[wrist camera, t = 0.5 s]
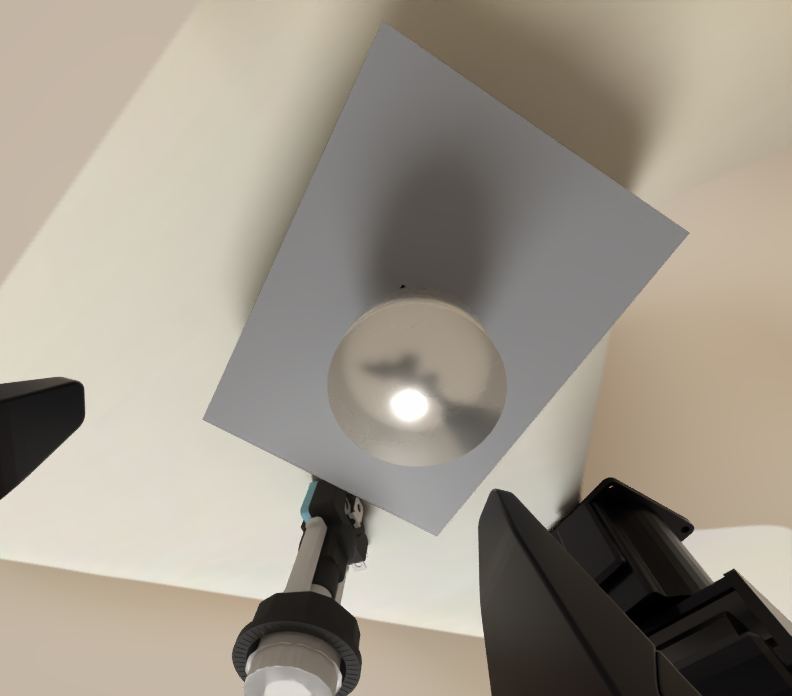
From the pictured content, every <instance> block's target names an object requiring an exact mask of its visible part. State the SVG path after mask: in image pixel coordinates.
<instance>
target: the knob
mask: <svg viewBox="0 0 792 696" xmlns="http://www.w3.org/2000/svg"><path fill="white" fill-rule="evenodd" d="M327 391H328V398H329V403H330V406H331V410H332V412H333V415H334V417H335V419H336V421H337V423H338V424H339V426H340V427H341V429H342V430H343V432H344V433H345V434H346V435H347V437H348V438H349V439H350V440H352V441H353V442H354V443H355V444H356V445H357V446H358V447H360V448H361V449H362V450H364V451H365V452H367V453H369V454H370V455H372V456H374V457H376V458H378V459H381V460H383V461H386V462H389V463H392V464H397V465H402V466H412V467H425V466H433V465H438V464H442V463H446V462H449V461H452V460H455V459H457V458H459V457H461V456H463V455H465V454H467V453H468V452H470V451H471V450H473V449H474V448H476V447H477V446H478V445H479V444H480V443H482V442H483V441H484V440H485V438H486V437H487V436H488V435H489V434H490V433H491V431H492V430H493V429H494V427H495V426H496V424H497V422H498V420H499V418H500V416H501V414H502V411H503V408H504V405H505V400H506V395H507V379H506V372H505V368H504V364H503V361H502V359H501V356H500V354H499V352H498V350H497V348H496V347H495V345H494V343H493V342H492V340H491V338H490V337H489V335H488V333H487V332H486V330H485V328H484V327H483V325H482V323H481V322H480V320H479V318H478V317H477V316H476V315H475V313H474V312H473V311H472V310H471V309H470V308H469V307H468V306H467V305H466V304H465V303H463V302H462V301H461V300H459V299H458V298H456V297H454V296H452V295H450V294H448V293H446V292H443V291H440V290H437V289H432V288H428V287H406V288H401V289H396V290H393V291H390V292H387V293H385V294H383V295H381V296H379V297H377V298H376V299H374V300H373V301H371V302H370V303H369V304H368V305H367V306H365V307H364V308H363V309H362V310H361V312H360V313H359V314H358V315H357V316H356V318H355V319H354V321H353V322H352V324H351V326H350V327H349V329H348V331H347V332H346V334H345V336H344V337H343V339H342V341H341V342H340V344H339V346H338V347H337V349H336V351H335V354H334V356H333V358H332V361H331V364H330V367H329V372H328V379H327Z"/></svg>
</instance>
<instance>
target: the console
mask: <svg viewBox="0 0 792 696" xmlns="http://www.w3.org/2000/svg"><path fill="white" fill-rule="evenodd" d="M688 234H689V232H688V231H686V230H685V229H683V228H682V227H680V226H679V225H677V224H676V223H675V222H673V221H672V220H670V219H669V218H667V217H666V216H664V215H663V214H662V213H660V212H659V211H657V210H656V209H654V208H653V207H651V206H650V205H649V204H647V203H646V202H644V201H643V200H641V199H640V198H638V197H637V196H636V195H634V194H633V193H631V192H630V191H628V190H627V189H625V188H624V187H623V186H621V185H620V184H618V183H617V182H615V181H614V180H612V179H611V178H610V177H608V176H607V175H605V174H604V173H602V172H601V171H599V170H598V169H597V168H595V167H594V166H592V165H591V164H589V163H588V162H586V161H585V160H584V159H582V158H581V157H579V156H578V155H576V154H575V153H573V152H572V151H571V150H569V149H568V148H566V147H565V146H563V145H562V144H560V143H559V142H558V141H556V140H555V139H553V138H552V137H550V136H549V135H547V134H546V133H545V132H543V131H542V130H540V129H539V128H537V127H536V126H534V125H533V124H532V123H530V122H529V121H527V120H526V119H524V118H523V117H521V116H520V115H518V114H517V113H516V112H514V111H513V110H511V109H510V108H508V107H507V106H505V105H504V104H503V103H501V102H500V101H498V100H497V99H495V98H494V97H492V96H491V95H490V94H488V93H487V92H485V91H484V90H482V89H481V88H479V87H478V86H477V85H475V84H474V83H472V82H471V81H469V80H468V79H466V78H465V77H464V76H462V75H461V74H459V73H458V72H456V71H455V70H453V69H452V68H451V67H449V66H448V65H446V64H445V63H443V62H442V61H440V60H439V59H438V58H436V57H435V56H433V55H432V54H430V53H429V52H427V51H426V50H425V49H423V48H422V47H420V46H419V45H417V44H416V43H414V42H413V41H412V40H410V39H409V38H407V37H406V36H404V35H403V34H401V33H400V32H399V31H397V30H396V29H394V28H393V27H391V26H390V25H388V24H387V23H386V22H384V21H383V22H382V24H381V26H380V28H379V31H378V33H377V35H376V37H375V39H374V42H373V44H372V46H371V48H370V50H369V53H368V55H367V57H366V59H365V62H364V64H363V66H362V68H361V70H360V73H359V75H358V77H357V79H356V81H355V84H354V86H353V88H352V90H351V92H350V95H349V97H348V99H347V101H346V104H345V106H344V108H343V110H342V112H341V115H340V117H339V119H338V121H337V123H336V126H335V128H334V130H333V132H332V134H331V137H330V139H329V141H328V143H327V146H326V148H325V150H324V152H323V154H322V157H321V159H320V161H319V163H318V165H317V168H316V170H315V172H314V174H313V176H312V179H311V181H310V183H309V185H308V188H307V190H306V192H305V194H304V196H303V199H302V201H301V203H300V205H299V207H298V210H297V212H296V214H295V216H294V218H293V221H292V223H291V225H290V227H289V230H288V232H287V234H286V236H285V238H284V241H283V243H282V245H281V247H280V249H279V252H278V254H277V256H276V258H275V260H274V263H273V265H272V267H271V269H270V272H269V274H268V276H267V278H266V280H265V283H264V285H263V287H262V289H261V291H260V294H259V296H258V298H257V300H256V302H255V305H254V307H253V309H252V311H251V314H250V316H249V318H248V320H247V322H246V325H245V327H244V329H243V331H242V333H241V336H240V338H239V340H238V342H237V344H236V347H235V349H234V351H233V353H232V356H231V358H230V360H229V362H228V364H227V367H226V369H225V371H224V373H223V375H222V378H221V380H220V382H219V384H218V386H217V389H216V391H215V393H214V395H213V397H212V400H211V402H210V404H209V406H208V409H207V411H206V413H205V415H204V417H203V420H204V421H206V422H208V423H210V424H212V425H214V426H216V427H218V428H220V429H223V430H225V431H227V432H229V433H231V434H233V435H235V436H237V437H239V438H241V439H243V440H245V441H247V442H249V443H251V444H253V445H255V446H257V447H259V448H261V449H263V450H265V451H267V452H269V453H271V454H273V455H275V456H277V457H279V458H281V459H283V460H285V461H287V462H289V463H291V464H293V465H295V466H297V467H299V468H301V469H303V470H305V471H307V472H309V473H311V474H313V475H315V476H317V477H319V478H321V479H323V480H325V481H327V482H329V483H331V484H333V485H335V486H337V487H339V488H341V489H343V490H345V491H347V492H349V493H351V494H353V495H355V496H357V497H359V498H361V499H363V500H365V501H367V502H369V503H371V504H373V505H375V506H377V507H379V508H381V509H383V510H385V511H387V512H389V513H391V514H393V515H395V516H397V517H399V518H401V519H403V520H405V521H407V522H409V523H411V524H413V525H415V526H417V527H419V528H421V529H423V530H425V531H427V532H429V533H431V534H433V535H435V536H438V534H439V533H440V532H441V531H442V530H443V528H444V527H445V526H446V525H447V524H448V522H449V521H450V520H451V519H452V518H453V516H454V515H455V514H456V513H457V511H458V510H459V509H460V508H461V507H462V505H463V504H464V503H465V502H466V501H467V499H468V498H469V497H470V496H471V495H472V493H473V492H474V491H475V490H476V489H477V487H478V486H479V485H480V484H481V483H482V481H483V480H484V479H485V478H486V477H487V475H488V474H489V473H490V472H491V471H492V469H493V468H494V467H495V466H496V465H497V463H498V462H499V461H500V460H501V459H502V457H503V456H504V455H505V454H506V453H507V451H508V450H509V449H510V448H511V447H512V445H513V444H514V443H515V442H516V441H517V439H518V438H519V437H520V436H521V435H522V433H523V432H524V431H525V430H526V429H527V427H528V426H529V425H530V424H531V423H532V421H533V420H534V419H535V418H536V417H537V415H538V414H539V413H540V412H541V411H542V409H543V408H544V407H545V406H546V405H547V403H548V402H549V401H550V400H551V399H552V397H553V396H554V395H555V394H556V393H557V391H558V390H559V389H560V388H561V387H562V385H563V384H564V383H565V382H566V381H567V379H568V378H569V377H570V376H571V375H572V373H573V372H574V371H575V370H576V369H577V367H578V366H579V365H580V364H581V363H582V361H583V360H584V359H585V358H586V357H587V355H588V354H589V353H590V352H591V351H592V349H593V348H594V347H595V346H596V345H597V343H598V342H599V341H600V340H601V339H602V337H603V336H604V335H605V334H606V333H607V331H608V330H609V329H610V328H611V327H612V325H613V324H614V323H615V322H616V321H617V319H618V318H619V317H620V316H621V315H622V313H623V312H624V311H625V310H626V308H627V307H628V306H629V305H630V304H631V303H632V301H633V300H634V299H635V298H636V296H637V295H638V294H639V293H640V292H641V291H642V289H643V288H644V287H645V286H646V285H647V283H648V282H649V281H650V280H651V278H652V277H653V276H654V275H655V274H656V273H657V271H658V270H659V269H660V268H661V267H662V265H663V264H664V263H665V262H666V261H667V259H668V258H669V257H670V256H671V254H672V253H673V252H674V251H675V250H676V249H677V247H678V246H679V245H680V244H681V243H682V241H683V240H684V239H685V238H686V237H687V235H688ZM402 285H404V286H405V287H428V288H432V289H437V290H440V291H443V292H446V293H448V294H450V295H452V296H454V297H456V298H458V299H459V300H461V301H462V302H463V303H465V304H466V305H467V306H468V307H469V308H470V309H471V310H472V311H473V312H474V313H475V315H476V316H477V317H478V318H479V320H480V322H481V323H482V325H483V327H484V328H485V330H486V332H487V333H488V335H489V337H490V338H491V340H492V342H493V343H494V345H495V347H496V348H497V350H498V352H499V354H500V356H501V359H502V361H503V364H504V368H505V372H506V379H507V395H506V400H505V405H504V408H503V411H502V414H501V416H500V418H499V420H498V422H497V424H496V426H495V427H494V429H493V430H492V431H491V433H490V434H489V435H488V436H487V437H486V438H485V440H484V441H483V442H482V443H480V444H479V445H478V446H477V447H476V448H474V449H473V450H471V451H470V452H468V453H467V454H465V455H463V456H461V457H459V458H457V459H455V460H452V461H449V462H446V463H442V464H438V465H433V466H425V467H412V466H402V465H397V464H392V463H389V462H386V461H383V460H381V459H378V458H376V457H374V456H372V455H370V454H369V453H367V452H365V451H364V450H362V449H361V448H360V447H358V446H357V445H356V444H355V443H354V442H353V441H352V440H350V439H349V438H348V437H347V435H346V434H345V433H344V432H343V430H342V429H341V427H340V426H339V424H338V423H337V421H336V419H335V417H334V415H333V412H332V410H331V406H330V403H329V398H328V391H327V379H328V372H329V367H330V364H331V361H332V358H333V356H334V354H335V351H336V349H337V347H338V346H339V344H340V342H341V341H342V339H343V337H344V336H345V334H346V332H347V331H348V329H349V327H350V326H351V324H352V322H353V321H354V319H355V318H356V316H357V315H358V314H359V313H360V312H361V310H362V309H363V308H364V307H365V306H367V305H368V304H369V303H370V302H371V301H373V300H374V299H376V298H377V297H379V296H381V295H383V294H385V293H387V292H390V291H393V290H396V289H400V288H401V286H402Z"/></svg>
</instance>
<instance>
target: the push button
mask: <svg viewBox="0 0 792 696" xmlns="http://www.w3.org/2000/svg"><path fill="white" fill-rule="evenodd" d="M358 505H359V508H360V512H359V511H358V507H357V506H358ZM362 515H363V506H362V504H361V502H360V500H359V498H358V497H356V498H355V502H354V507H353V505H352V503H351V501H350V499H349V497H348V495H347V491H345V490H343V489H341V488H339V487H337V486H335V485H333V484H331V483H329V482H327V481H325V480H323V479H322V480H319V481H315V482H312V483H310V485H309V489H308V492H307V494H306V497H305V499H304V502H303V504H302V507H301V516H302V518H303V523H302V525H301V529H302V530H303V532H304V533H303V536H302V538H301V541H300V545H299V549H298V554H297V557H296V560H295V563H294V566H293V569H292V572H291V574H290V577H289V580H288V583H287V586H286V588H285V590H284V592H283V593H276V594H274V595H272V596H271V597H269V598H267V599H265V600H264V601H262V602H261V603H260V604H259V607H258V609H257V612H256V614H255V616H254V619H253V621H252V622H250V623H249V624H248V625H246V626H245V627H244V628H243V629H242V631H241V632H240V634H239V636H238V638H237V640H236V643H235V645H234V648H233V652H232V660H233V664H234V667H235V669H236V671H237V673H238V675H239V676H240V677H241V679H242V680H243V681H244V682H245V683H244V686H243V692H244V695H245V696H347V695H348V694H349V693H351V692H352V691H353V689H354V688H355V687H356V686H357V684H358V681H359V679H360V673H361V665H362V659H361V654H360V651H359V649H358V648H359V640H360V631H359V628H358V624H357V620H356V619H355V617H353V616H352V615H351V614H350V613H349V612H348V611H347V610H346V609H344V608H343V607H342V606H341V605H340V604H341V599H342V593H343V588H344V583H345V578H346V575H347V574H348V570H349V566H348V565H352V566H353V568H354V570H355V571H361V570H365V569H366V565H365V563H364V562H363V561H365V559H366V557H368V553H367V546H368V540H367V537H366V535H365V533H364V526H363V524H362V522H361V520H362ZM355 563H361V566H356V565H355Z"/></svg>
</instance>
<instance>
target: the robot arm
mask: <svg viewBox="0 0 792 696" xmlns="http://www.w3.org/2000/svg"><path fill="white" fill-rule="evenodd" d="M84 418H85V395H84V386H83V385H82V383H81V382H79V381H76V380H72V379H68V378H64V377H52V378H44V379H36V380H28V381H20V382H12V383H4V384H0V500H1V499H2V498H3V497H5V496H6V495H7V494H8V493H9V492H11V491H12V490H13V489H14V488H15V487H17V486H18V485H19V484H20V483H21V482H22V481H23V480H24V479H25V478H26V477H28V476H29V475H30V474H31V473H32V472H33V471H34V470H35V469H36V468H37V467H38V466H39V465H40V464H41V463H42V462H43V461H44V460H45V459H46V458H48V457H49V456H50V455H51V454H52V453H53V452H54V451H55V450H56V449H57V448H58V447H59V446H60V445H61V444H62V443H63V442H64V441H65V440H66V439H67V438H68V437H70V436H71V435H72V434H73V433H74V432H75V431H76V430H77V429H78V428H79V427H80V426H81V424H82V423H83V421H84ZM610 486H613V487H611V488H609V487H610ZM693 531H694V526H693V525H692V524H691V523H690V522H689V520H688V519H686V518H684V517H683V516H681V515H679V514H677V513H675V512H674V511H672V510H670V509H668V508H667V507H665V506H663V505H661V504H659V503H658V502H656V501H654V500H652V499H651V498H649V497H647V496H645V495H643V494H642V493H640V492H638V491H636V490H635V489H633V488H631V487H629V486H627V485H626V484H624V483H622V482H620V481H619V480H617V479H615V478H606V479H604V480H603V481H602V482H601V483H600V484H599V485H598V486H597V487H596V488H595V489H594V490H593V491H592V492H591V493H590V494H589V495H588V496H587V497H586V498H585V499H584V500H583V501H582V502H581V503H580V504H579V505H578V506H577V507H576V508H575V509H574V510H573V511H572V512H571V513H570V514H569V515H568V516H567V517H566V518H565V520H564V521H563V522H562V523H561V524H560V525H559V526H558V527H557V528H556V529H555V530H554V531H553V532H552V533H551V534H550V533H549V532H548V531H547V529H546V528H545V527H544V526H543V525H542V524H541V523H540V522H539V521H538V520H537V519H536V518H535V517H534V515H533V514H532V513H531V512H530V511H529V510H528V509H527V508H526V507H525V506H524V505H523V504H522V503H521V502H520V500H519V499H518V498H517V497H516V496H515V495H514V494H513V493H511V492H508V491H504V490H500V489H493V490H492V491H491V492H490V494H489V497H488V499H487V502H486V504H485V506H484V509H483V511H482V514H481V516H480V519H479V525H478V541H479V585H480V605H481V615H482V623H483V631H484V639H485V646H486V655H487V662H488V670H489V678H490V685H491V693H492V696H792V623H791V622H790V621H789V620H788V619H787V618H786V617H785V616H784V615H783V614H782V613H781V612H780V611H779V610H778V609H777V608H776V607H775V606H773V605H772V604H771V603H770V602H769V601H768V600H767V599H766V598H765V597H764V596H763V595H762V594H761V593H760V592H759V591H758V590H757V589H755V588H754V587H753V586H752V585H751V584H750V583H749V582H748V581H747V580H746V579H745V578H744V577H743V576H742V575H741V574H740V573H738V572H737V571H736V570H735V569H732V570H730V571H729V572H727V573H725V574H723V575H724V576H725V577H723V578H722V579H720V580H718V581H716V582H713V581H712V580H711V578H710V577H709V576H708V575H707V573H706V572H705V571H704V570H703V568H702V567H701V566H700V565H699V563H698V562H697V561H696V560H695V559H694V557H693V556H692V555H691V554H690V552H689V551H688V550H687V549H686V547H685V546H684V545H683V544H682V541H683V540H684V539H685V538H687V537H688V536H689V535H690V534H691V533H692V532H693Z"/></svg>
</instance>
